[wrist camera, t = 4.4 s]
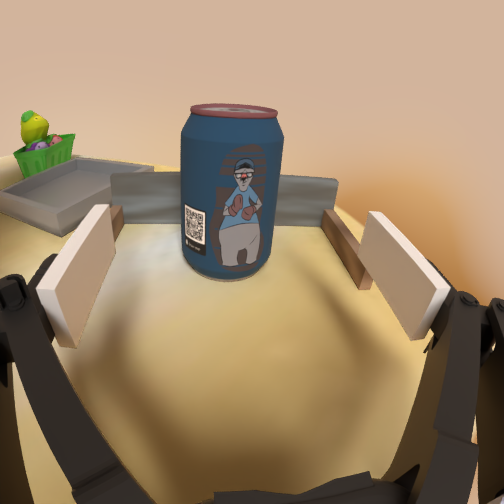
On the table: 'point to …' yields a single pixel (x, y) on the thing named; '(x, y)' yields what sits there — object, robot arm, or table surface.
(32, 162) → the fruit basket
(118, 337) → the table surface
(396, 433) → the table surface
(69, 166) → the grey tray
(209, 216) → the soda can
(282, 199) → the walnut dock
